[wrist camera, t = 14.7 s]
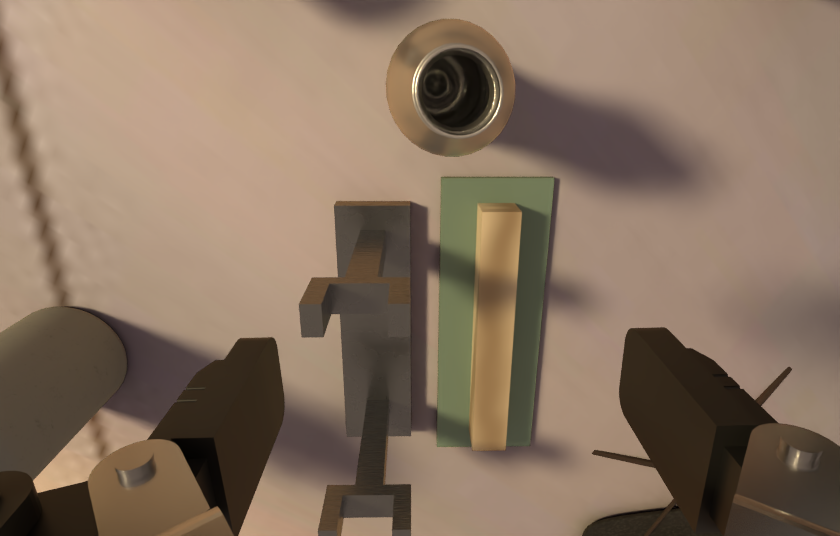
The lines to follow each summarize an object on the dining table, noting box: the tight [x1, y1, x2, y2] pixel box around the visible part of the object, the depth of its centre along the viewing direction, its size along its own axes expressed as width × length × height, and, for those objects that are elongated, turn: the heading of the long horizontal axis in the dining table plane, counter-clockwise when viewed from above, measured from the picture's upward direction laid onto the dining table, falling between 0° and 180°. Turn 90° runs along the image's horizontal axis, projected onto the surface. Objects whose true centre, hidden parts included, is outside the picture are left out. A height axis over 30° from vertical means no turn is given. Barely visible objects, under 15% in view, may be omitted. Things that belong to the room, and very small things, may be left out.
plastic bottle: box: [386, 19, 515, 157], centre depth 30 cm, size 6×7×20 cm
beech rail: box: [469, 203, 522, 451], centre depth 45 cm, size 3×22×3 cm, turn 0°
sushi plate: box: [582, 367, 792, 536], centre depth 53 cm, size 29×30×4 cm
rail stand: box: [299, 201, 411, 536], centre depth 39 cm, size 6×22×16 cm, turn 0°
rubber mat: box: [437, 177, 554, 447], centre depth 46 cm, size 9×26×1 cm, turn 0°
